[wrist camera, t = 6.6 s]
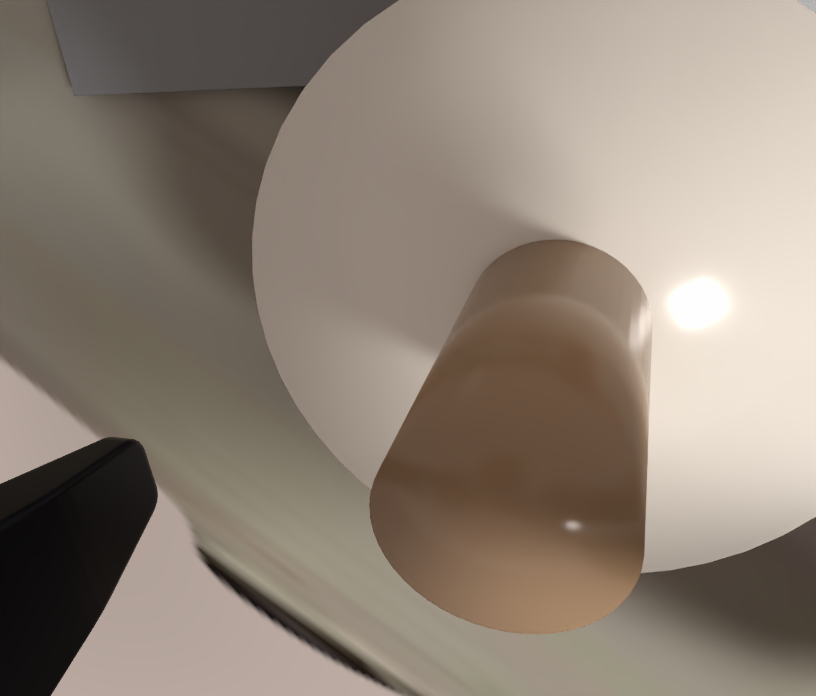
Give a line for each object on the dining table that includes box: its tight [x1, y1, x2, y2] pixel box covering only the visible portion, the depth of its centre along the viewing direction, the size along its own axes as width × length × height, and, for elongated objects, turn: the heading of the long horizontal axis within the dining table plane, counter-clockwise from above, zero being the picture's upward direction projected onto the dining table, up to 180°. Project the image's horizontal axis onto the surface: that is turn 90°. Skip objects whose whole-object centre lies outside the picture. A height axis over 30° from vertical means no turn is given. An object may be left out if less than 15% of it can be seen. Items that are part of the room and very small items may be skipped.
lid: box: [252, 0, 816, 634], centre depth 11 cm, size 11×11×6 cm
